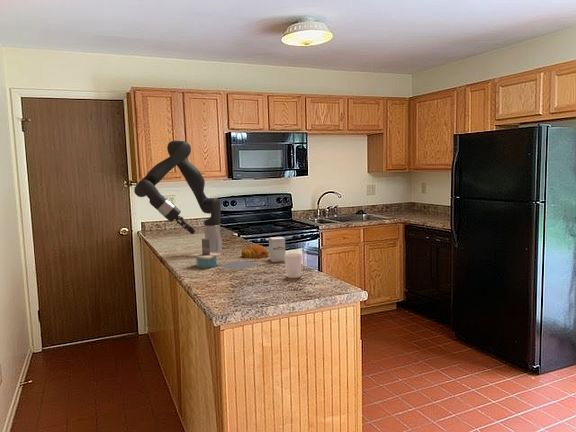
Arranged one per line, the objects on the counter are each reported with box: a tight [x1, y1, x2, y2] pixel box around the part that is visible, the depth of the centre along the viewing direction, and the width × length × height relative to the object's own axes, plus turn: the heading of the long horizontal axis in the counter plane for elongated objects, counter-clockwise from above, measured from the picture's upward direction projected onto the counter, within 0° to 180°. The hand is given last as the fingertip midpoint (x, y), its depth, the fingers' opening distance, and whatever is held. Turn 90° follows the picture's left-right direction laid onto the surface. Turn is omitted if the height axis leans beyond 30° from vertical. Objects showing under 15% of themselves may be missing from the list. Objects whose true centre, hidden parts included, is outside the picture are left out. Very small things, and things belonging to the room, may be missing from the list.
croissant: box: [240, 244, 269, 259], centre depth 253 cm, size 14×16×8 cm
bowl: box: [195, 257, 218, 269], centre depth 231 cm, size 10×10×6 cm
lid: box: [187, 238, 225, 259], centre depth 230 cm, size 13×13×9 cm
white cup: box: [284, 252, 303, 279], centre depth 204 cm, size 8×8×10 cm
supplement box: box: [268, 236, 286, 263], centre depth 239 cm, size 7×7×13 cm
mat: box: [217, 260, 261, 270], centre depth 230 cm, size 16×16×1 cm
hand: (193, 232), depth 228 cm, fingers open, 8 cm apart
